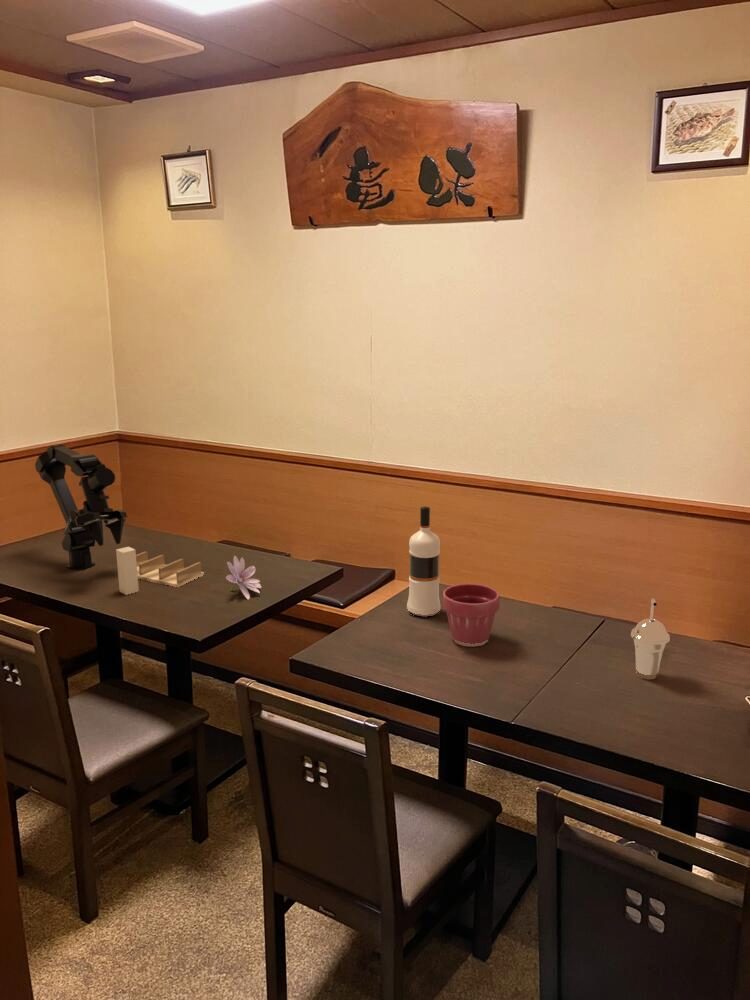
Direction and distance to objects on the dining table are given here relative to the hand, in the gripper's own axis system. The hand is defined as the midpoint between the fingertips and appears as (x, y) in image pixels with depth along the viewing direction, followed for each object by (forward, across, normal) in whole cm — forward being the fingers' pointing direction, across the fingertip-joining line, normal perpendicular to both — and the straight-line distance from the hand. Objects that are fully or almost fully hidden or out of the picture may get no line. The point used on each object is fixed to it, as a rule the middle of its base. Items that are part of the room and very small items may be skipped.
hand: (110, 544), depth 240 cm
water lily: (+27, -5, +34) cm, 44 cm away
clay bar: (+15, +2, +3) cm, 16 cm away
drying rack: (+13, -12, +7) cm, 19 cm away
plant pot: (+57, +11, +96) cm, 112 cm away
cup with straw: (+75, +21, +134) cm, 154 cm away
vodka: (+48, -3, +84) cm, 96 cm away
